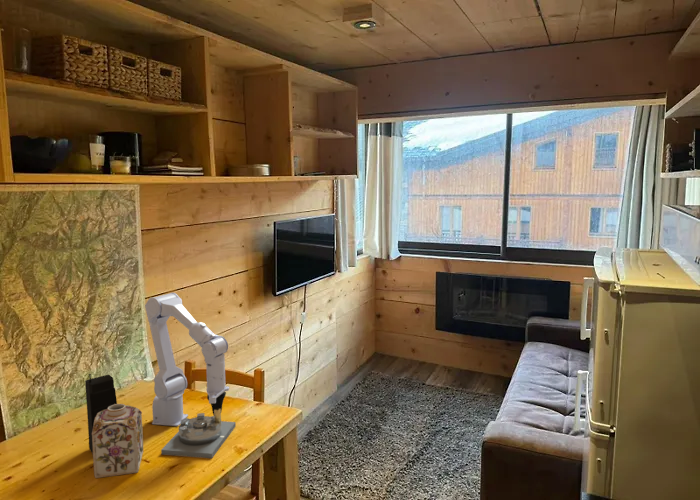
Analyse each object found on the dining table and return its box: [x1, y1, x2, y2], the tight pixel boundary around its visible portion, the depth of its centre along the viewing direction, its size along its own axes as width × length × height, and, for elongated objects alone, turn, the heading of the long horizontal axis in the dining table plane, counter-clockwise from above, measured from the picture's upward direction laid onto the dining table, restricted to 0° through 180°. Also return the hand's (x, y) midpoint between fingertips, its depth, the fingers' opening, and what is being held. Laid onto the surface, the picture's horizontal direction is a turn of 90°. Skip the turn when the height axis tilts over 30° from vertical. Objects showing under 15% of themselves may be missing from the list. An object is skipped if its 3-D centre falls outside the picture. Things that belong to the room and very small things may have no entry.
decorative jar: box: [91, 403, 144, 479], centre depth 145 cm, size 12×12×18 cm
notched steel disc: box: [178, 408, 222, 445], centre depth 160 cm, size 13×13×8 cm
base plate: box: [160, 420, 236, 459], centre depth 161 cm, size 16×20×2 cm
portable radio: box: [84, 373, 118, 454], centre depth 154 cm, size 8×6×25 cm
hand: (217, 415), depth 163 cm, fingers closed
